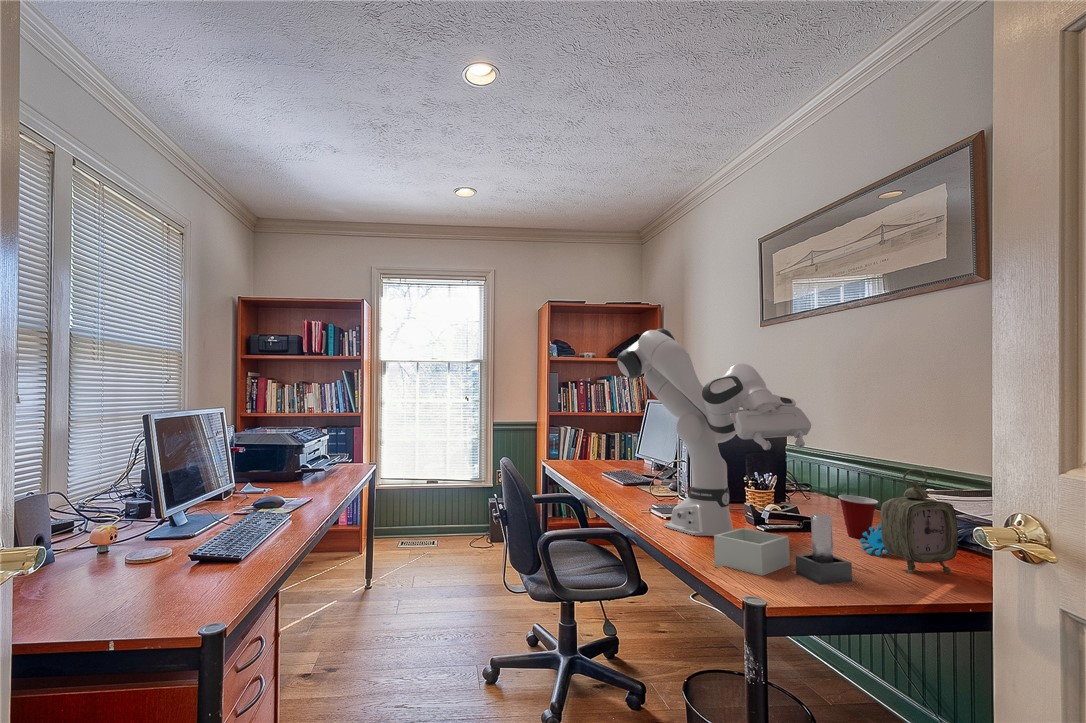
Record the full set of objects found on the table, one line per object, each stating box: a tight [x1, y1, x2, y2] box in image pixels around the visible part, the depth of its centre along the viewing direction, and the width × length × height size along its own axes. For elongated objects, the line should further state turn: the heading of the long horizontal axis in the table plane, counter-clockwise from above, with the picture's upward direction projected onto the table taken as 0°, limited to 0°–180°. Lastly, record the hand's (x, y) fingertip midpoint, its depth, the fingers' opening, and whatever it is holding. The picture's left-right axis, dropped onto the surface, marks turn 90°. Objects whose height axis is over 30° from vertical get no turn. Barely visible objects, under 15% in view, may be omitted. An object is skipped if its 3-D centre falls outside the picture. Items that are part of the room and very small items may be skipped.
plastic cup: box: [837, 494, 879, 540], centre depth 174 cm, size 11×11×12 cm
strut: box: [810, 513, 834, 564], centre depth 133 cm, size 5×5×14 cm
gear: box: [859, 524, 891, 557], centre depth 155 cm, size 11×6×10 cm
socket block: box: [791, 553, 858, 586], centre depth 133 cm, size 10×10×5 cm
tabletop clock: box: [880, 468, 959, 575], centre depth 139 cm, size 14×9×25 cm, turn 101°
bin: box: [713, 527, 791, 576], centre depth 143 cm, size 13×13×8 cm
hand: (784, 447), depth 146 cm, fingers open, 8 cm apart
